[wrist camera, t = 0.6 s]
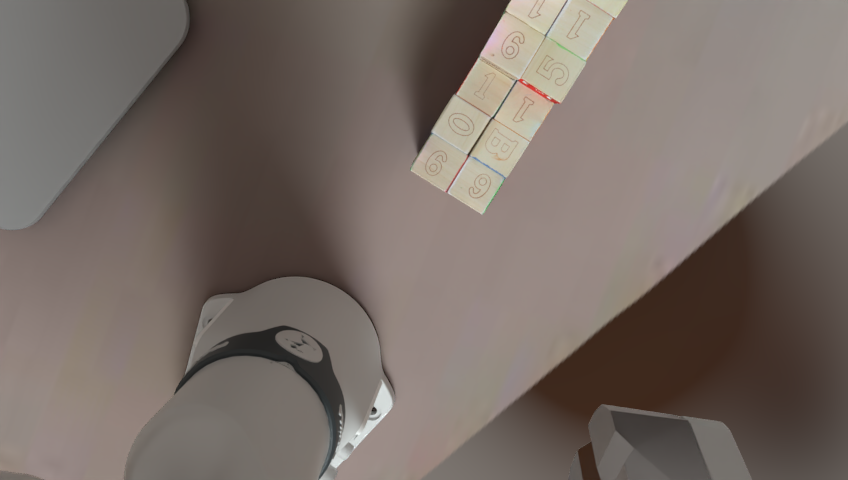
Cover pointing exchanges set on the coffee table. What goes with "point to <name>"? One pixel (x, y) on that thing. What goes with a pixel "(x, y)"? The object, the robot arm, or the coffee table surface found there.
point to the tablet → (71, 87)
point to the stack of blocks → (510, 94)
